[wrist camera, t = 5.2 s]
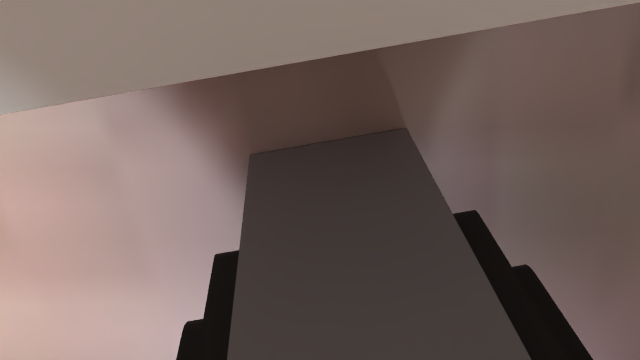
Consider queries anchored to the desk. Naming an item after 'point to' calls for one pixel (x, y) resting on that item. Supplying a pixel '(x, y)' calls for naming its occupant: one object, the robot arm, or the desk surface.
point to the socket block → (217, 38)
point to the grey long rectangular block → (359, 261)
